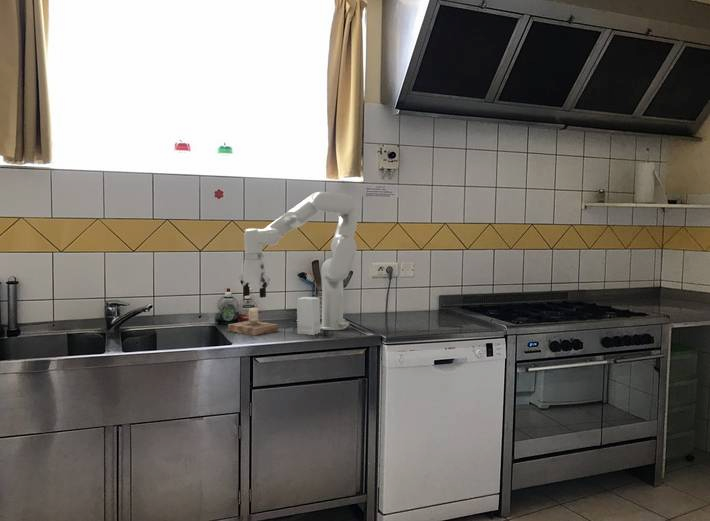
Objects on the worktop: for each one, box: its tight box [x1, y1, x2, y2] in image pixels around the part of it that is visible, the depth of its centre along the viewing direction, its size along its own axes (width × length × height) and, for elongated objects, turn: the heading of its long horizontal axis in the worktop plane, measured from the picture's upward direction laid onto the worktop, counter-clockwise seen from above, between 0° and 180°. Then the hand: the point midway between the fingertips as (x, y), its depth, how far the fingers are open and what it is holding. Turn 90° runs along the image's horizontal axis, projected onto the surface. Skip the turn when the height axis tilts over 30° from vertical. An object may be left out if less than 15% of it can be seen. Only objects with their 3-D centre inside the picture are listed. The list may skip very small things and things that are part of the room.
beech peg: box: [248, 307, 259, 326], centre depth 260 cm, size 4×4×10 cm
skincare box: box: [296, 296, 321, 336], centre depth 256 cm, size 8×7×16 cm
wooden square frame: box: [227, 320, 279, 336], centre depth 260 cm, size 16×14×3 cm
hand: (254, 296), depth 260 cm, fingers open, 9 cm apart
